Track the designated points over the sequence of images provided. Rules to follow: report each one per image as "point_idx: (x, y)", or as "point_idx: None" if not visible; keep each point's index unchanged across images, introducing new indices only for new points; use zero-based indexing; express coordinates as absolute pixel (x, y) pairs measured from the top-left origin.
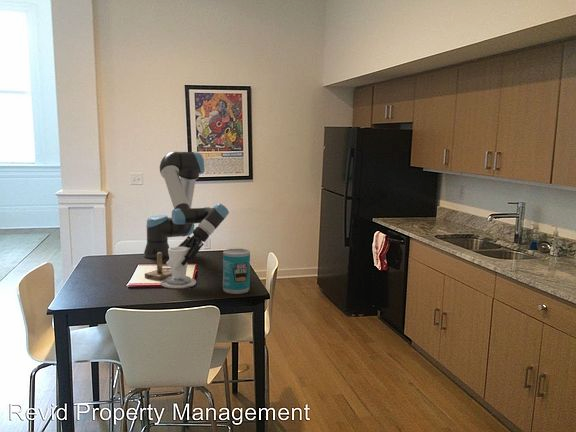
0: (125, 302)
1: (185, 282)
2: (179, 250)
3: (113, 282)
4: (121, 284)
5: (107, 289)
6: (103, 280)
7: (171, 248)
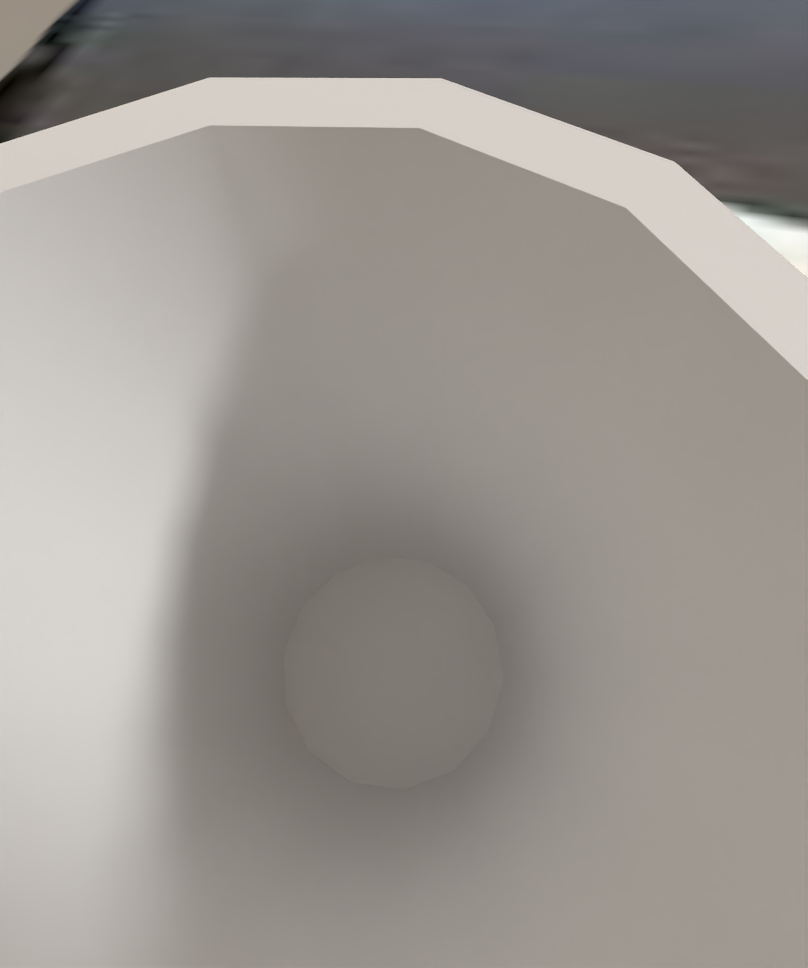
0: (88, 115)
1: None
2: (723, 828)
3: (707, 90)
4: (612, 137)
5: (492, 43)
6: (804, 33)
7: (661, 289)
